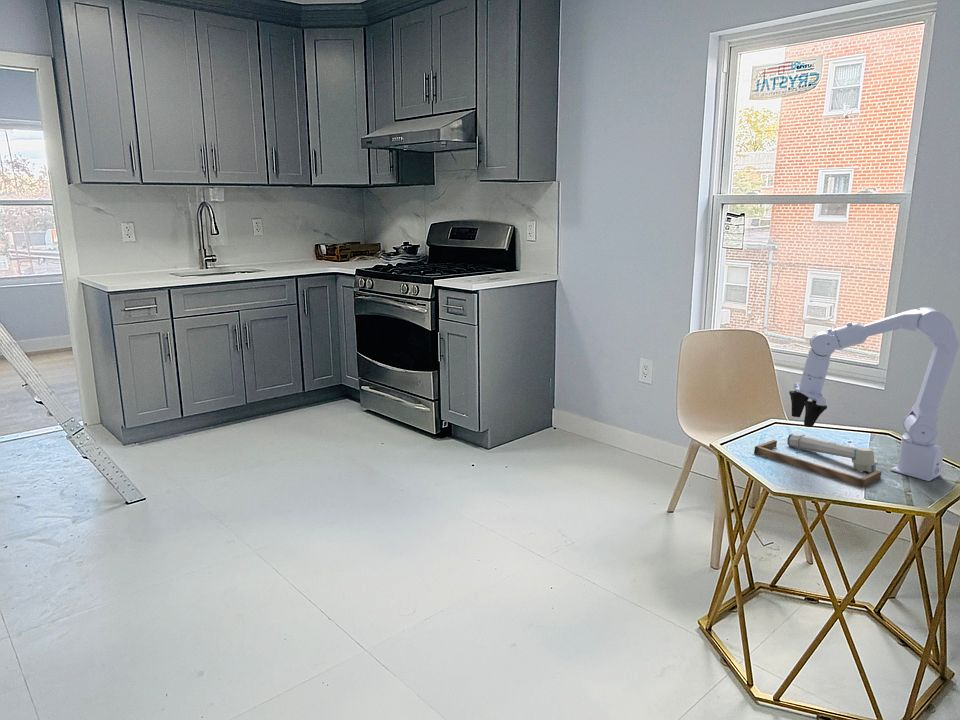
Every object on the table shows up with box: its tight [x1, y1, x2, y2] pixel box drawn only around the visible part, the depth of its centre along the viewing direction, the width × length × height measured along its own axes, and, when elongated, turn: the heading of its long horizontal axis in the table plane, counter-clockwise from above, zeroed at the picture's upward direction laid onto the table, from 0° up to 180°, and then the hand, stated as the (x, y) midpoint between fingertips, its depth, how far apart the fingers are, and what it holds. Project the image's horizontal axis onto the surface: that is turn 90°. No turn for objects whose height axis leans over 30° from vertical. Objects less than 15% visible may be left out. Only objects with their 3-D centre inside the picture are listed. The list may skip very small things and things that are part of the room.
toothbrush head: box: [786, 433, 879, 473], centre depth 193 cm, size 5×7×25 cm
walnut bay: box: [753, 439, 883, 488], centre depth 188 cm, size 30×10×2 cm, turn 37°
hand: (801, 421), depth 192 cm, fingers open, 7 cm apart
